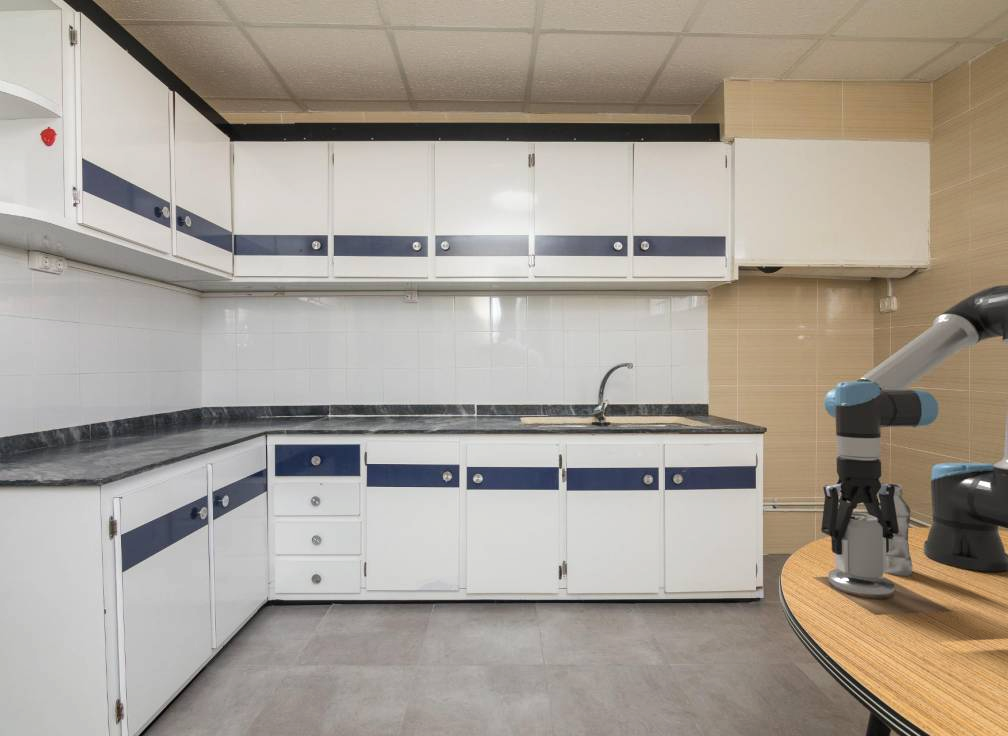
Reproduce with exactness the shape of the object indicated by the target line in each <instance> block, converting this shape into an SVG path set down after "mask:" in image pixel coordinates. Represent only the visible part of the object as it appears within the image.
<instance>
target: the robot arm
mask: <svg viewBox="0 0 1008 736" xmlns="http://www.w3.org/2000/svg"><path fill="white" fill-rule="evenodd" d="M998 337H1002V340H1001V341H1002V343H1003V344H1004V345H1005V346H1007V347H1008V284H1005V285H996V286H992V287H988V288H985V289H982V290H980V291H977V292H975V293H974V294H972V295H969V296H967V297H965V298H964V299H963V300H960V301H959V302H957V303H956V304H954V305H952V306H951V307H949V308H948V309H947V310H946V309H945V311H944V312H942V313H941V314H939V315H937V317H935V319H934V321H933V323H932V326H930V327H929V328H927V330H925V331H924V332H922V333H921V334H919V335H918V336H917V337H916V338H914V339H912V340H911V341H910V342H909V343H907V344H906V345H905V346H902V348H900V349H899V350H898V351H896V352H895V353H894V354H892V355H890V357H888V358H887V359H885V360H884V361H883V362H881V363H879V364H878V365H877V366H875V367H874V368H872V369H871V370H870V371H868V372H867V373H866V374H864V375H863V376H861V377H860V378H859V379H857V380H856V381H841V382H838V383H837V384H836V386H835V388H832V389H831V390H829V391H828V392H827V393H826V395H825V397H824V401H823V402H824V403H823V405H824V408H825V411H826V413H827V414H828V415H829V416H830V417H832V418H835V434H836V435H835V436H836V437H835V440H836V441H835V443H836V444H835V445H836V449H835V450H836V454H837V455H838V456H837V457H836V459H835V460H836V474H837V476H838V480H837V482H836V484H834V485H827V484H824V485H823V493H824V502H823V510H822V511H823V513H822V519H821V520H822V521H821V529H820V530H821V532H822V533H823V534H825V535H827V536H829V537H831V551H832V554H834V568H835V569H839V570H841V571H843V572H848V540H847V539H844V538H843V537H844V535H845V532H846V529H847V526H848V523H849V521H850V518H851V515H852V513H854V512H853V511H854V509H856V508H857V507H858V504H859V505H860V504H863V505H864V506H865V509H866V511H867V515H871V516H874V517H876V518H878V523H879V524H880V525H881V526H882V528H883V571H887V564H886V553H888V551H889V539H892V538H893V537H894V535H893V534H898V533H899V528H898V522H897V516H896V509H895V503H894V492H895V487H894V486H892V485H888V484H889V483H885V482H883V483H881V481H880V478H881V477H882V461H881V460H880V457H881V456H882V442H881V437H882V435H881V431H882V429H881V428H888V427H889V428H890V427H891V428H893V427H895V428H897V427H898V428H899V427H900V428H902V427H912V428H916V427H921V426H922V427H923V426H928V425H931V424H932V423H934V422H935V421H936V420H937V417H938V415H939V403H938V400H937V399H936V397H935V396H934V395H933V394H931V393H930V392H929V391H926V390H921V389H919V390H917V389H908V388H909V387H910V386H912V385H913V384H914V383H916V382H918V381H919V380H920V379H921V378H922V377H924V376H926V375H927V374H928V373H929V372H931V371H933V370H934V369H935V368H936V367H938V366H939V365H940V364H942V363H944V362H945V361H947V359H949V358H950V357H952V356H953V355H955V354H956V353H957V352H958V351H960V350H962V349H969V348H972V347H973V346H975V345H976V344H978V343H980V342H981V341H985V340H987V339H993V338H998ZM1005 421H1006V422H1005V435H1004V436H1005V437H1004V448H1003V449H1004V450H1003V458H1002V459H1001V460H999V461H998V462H996V463H994V464H993V463H988V462H987V463H985V462H984V463H983V462H943V463H942V462H941V463H937V464H935V465H934V466H933V467H932V468H931V469H932V470H931V478H930V485H931V486H930V487H931V490H930V491H931V509H932V524H931V526H930V529H929V532H928V535H927V539H926V540H925V541H924V542H923V543H924V544H923V554H924V555H925V556H926V557H927V558H929V559H932V560H934V561H936V562H939V563H941V564H944V565H948V566H951V567H956V568H960V569H967V570H971V571H972V570H973V571H977V572H978V571H979V572H993V573H995V572H1004V571H1005V572H1006V571H1007V570H1008V553H1007V552H1006V550H1005V547H1004V544H1003V541H1002V539H1001V538H1002V537H1000V534H999V533H1000V532H999V527H1002V528H1003V529H1004V528H1005V529H1008V404H1007V407H1006V420H1005ZM839 496H840V497H839ZM878 499H879V500H878ZM879 501H880V503H879ZM879 505H880V507H881V509H880V507H879Z"/></svg>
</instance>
